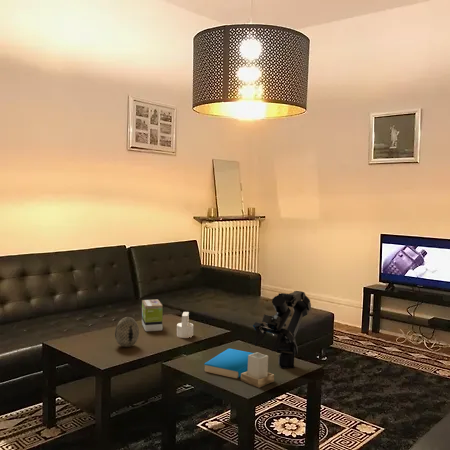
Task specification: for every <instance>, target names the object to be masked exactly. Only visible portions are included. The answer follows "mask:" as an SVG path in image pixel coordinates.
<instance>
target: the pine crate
mask: <svg viewBox="0 0 450 450" xmlns="http://www.w3.org/2000/svg"><path fill="white" fill-rule="evenodd" d="M247 374H248V371H247V372H244V373H241V376H240V381H241V382H244V383H246V384H248V385H251V386H254V387H256V388H262V387H264V386H266V385H269V384H270V383H274V382H275V374H274V373H271V372H269V371H268V375H267V377H265V378H262V379H260V380H258V379H256V378H253V377H250V376H248V375H247Z"/></svg>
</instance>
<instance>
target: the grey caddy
mask: <svg viewBox="0 0 450 450" xmlns="http://www.w3.org/2000/svg"><path fill="white" fill-rule="evenodd" d="M253 353H254V354H251V355H248V374H247V375H248V376H250V377H253V378H256V379H258V380H260V379H262V378H265V377H267V375H268V372H269V371H268V369H269V355H267V354H263V353H261V352H257V351H256V352H253Z"/></svg>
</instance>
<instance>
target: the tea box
mask: <svg viewBox="0 0 450 450" xmlns="http://www.w3.org/2000/svg"><path fill="white" fill-rule="evenodd" d="M163 307H164V306H163V303H162V302H161V301H160V300H159V299H141V324H142V327H143V329H144V331H145V332H159V331H163V315H164V314H163V313H164V312H163V310H164V309H163Z"/></svg>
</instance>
